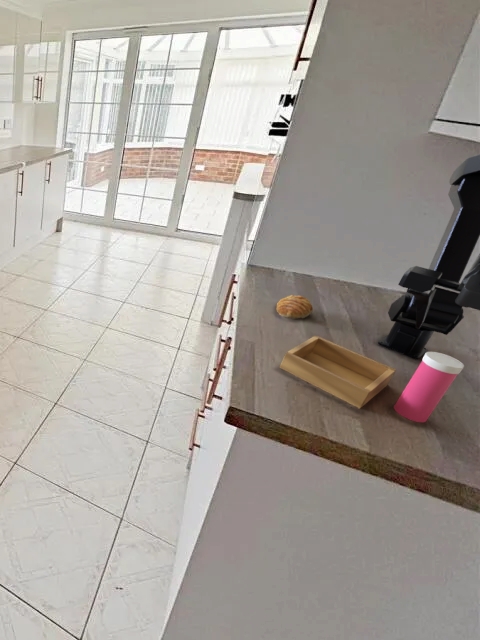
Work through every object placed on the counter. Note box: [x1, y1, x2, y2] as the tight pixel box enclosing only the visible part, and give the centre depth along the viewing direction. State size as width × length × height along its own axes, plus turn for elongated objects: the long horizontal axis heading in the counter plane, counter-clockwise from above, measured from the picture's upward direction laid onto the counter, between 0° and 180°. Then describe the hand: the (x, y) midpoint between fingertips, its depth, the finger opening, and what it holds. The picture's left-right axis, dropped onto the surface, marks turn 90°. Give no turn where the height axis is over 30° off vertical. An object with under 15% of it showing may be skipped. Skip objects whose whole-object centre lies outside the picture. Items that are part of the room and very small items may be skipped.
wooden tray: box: [279, 335, 397, 409], centre depth 77 cm, size 13×13×4 cm
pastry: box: [276, 294, 314, 320], centre depth 100 cm, size 9×7×4 cm
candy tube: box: [393, 351, 465, 423], centre depth 67 cm, size 4×4×12 cm
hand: (455, 340), depth 70 cm, fingers open, 9 cm apart
